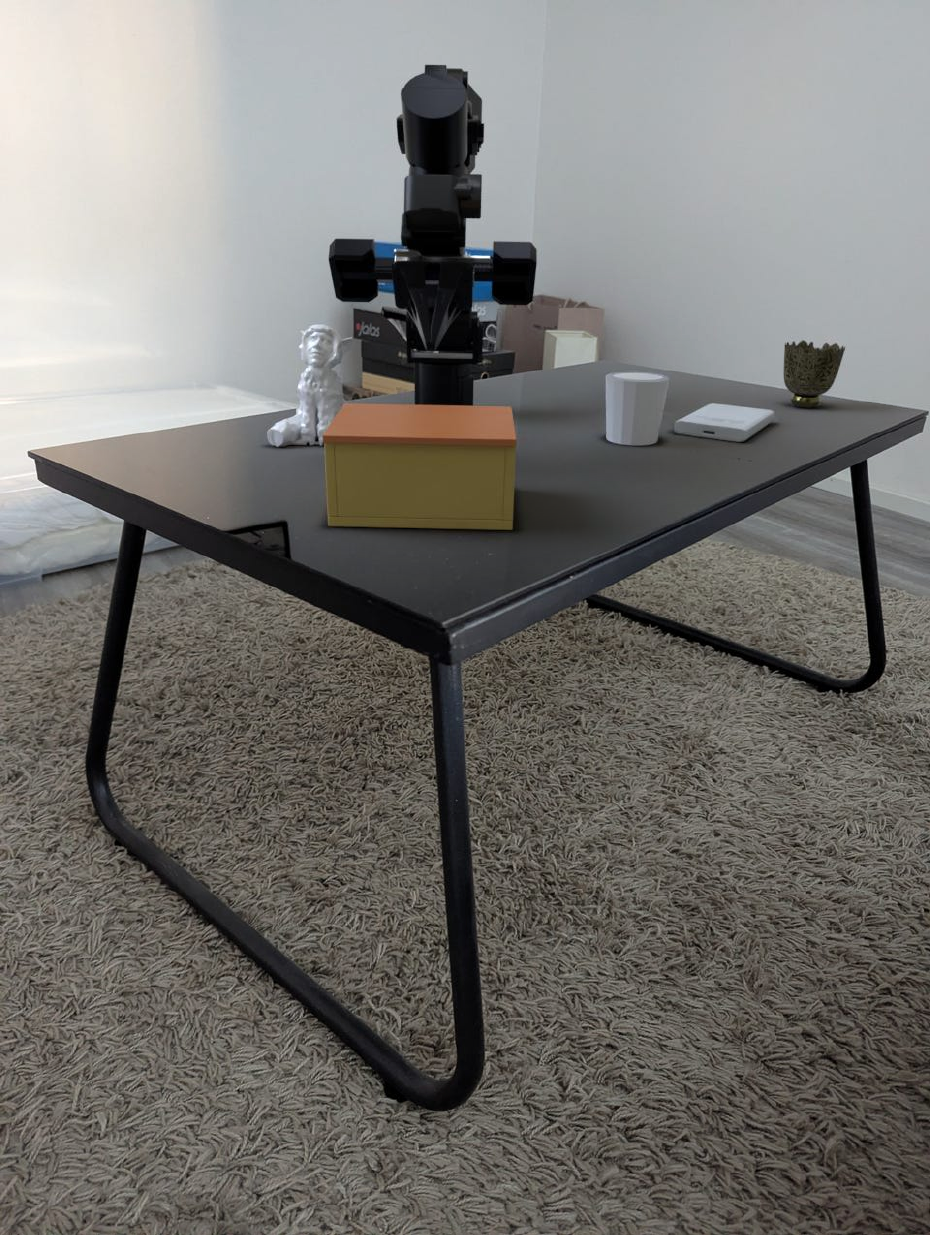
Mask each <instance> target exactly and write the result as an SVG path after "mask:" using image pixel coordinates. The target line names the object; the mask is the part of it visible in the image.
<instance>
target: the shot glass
mask: <svg viewBox="0 0 930 1235" xmlns="http://www.w3.org/2000/svg"><path fill="white" fill-rule="evenodd" d="M670 381H671V379H670V377H669V376H667V375H665V374H660V373H655V372H649V371H637V370H634V371H633V370H626V371H614V372H610V373H607V374H606V375H605V436H606V440H607V441H608V442H611V443H613V444H616V445H617V444H618V445H622V446H623V445H625V446H650V445H653V444H654V445H655V444H656V443H658V440H659V436H660V435H659V434H660V429H661V424H662V419H663V414H664V409H665V405H666V404H665V403H666V399H667V394H668V389H669V385H670Z"/></svg>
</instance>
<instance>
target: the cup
mask: <svg viewBox="0 0 930 1235" xmlns="http://www.w3.org/2000/svg"><path fill="white" fill-rule="evenodd" d="M845 351H846V346H844V345H841V347H840V346H839V345H838V343H837V342H835V343H833V344H831V345H830V344H829V342H825V343H824V344H823V345H822V347H815V346H814V342H813V341H810V342H809V343H807V341H806V340H804V339H803V340H800V341H799V342H798V344H796V342H795V341H794V340H793V341H792V342H791V344H790V342H788V341H787V342H784V350H783V382H784V385H785V387H786V389H787V390H788V391H789V392H790V393H792V395H791V397H790V403H791V404H792V405H793V406H795V407H796V408H804V409H806V408H807V409H813V408H816V407H818V406H819V404H820V402H821V397H820V396H822V395H824V394H826V393H827V392H828V391H830V389H831V388H832V387H833V385H834V383H835V381H836V378H837V376H838V373H839V369H840V367H841V363H842V360H843V356H844V353H845Z"/></svg>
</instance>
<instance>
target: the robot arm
mask: <svg viewBox="0 0 930 1235" xmlns="http://www.w3.org/2000/svg"><path fill="white" fill-rule="evenodd" d="M400 98H401V99H400V100H401V113H400V115H398V116H397V117H396V132H397V133H396V134H397V143H398V146H399V149H400V152H401V155H405V158H406V161H407V163H408V165H409V168H408V175H405V177H404V179H403V213H402V214H401V226H400V227H401V228H400V229H401V230H400V242H401V247H403V248H394V249H393V257H377V253H376V245H375V244H376V243H375V239H374V238H335V239H334V240H333V241H332V242H331V243H330V244H329V252H328V265H329V269H330V274H331V275H330V276H331V279H332V285H333V289H334V295H335V299H337V300H339V301H340V302H342V303H371V302H372V301H373V300H375V299H376V298H377V297H378V296H379V284H392V286H393V295H394V297H393V298H394V304H395V307H396V308H397V309H399V310H406V314H405V342H406V364H408V365H409V364H414V365H413V366H414V368H413V369H414V370H413V371H414V372H413V373H414V375H413V376H414V377H413V378H414V405H461V406H474V379H475V378H474V375H473V374H472V372H471V371H472V370H471V369H472V366H477V364H483V352H484V350H483V348H484V347H483V345H484V343H483V342H484V324H483V323H482V321H481V320H480V316H478V315H479V314H478V312H479V311H478V310H477V311H474V310H473V305H474V304H473V300H474V298H473V296H474V294H473V293H474V288H475V282H486V283H487V282H489V283H491V299H492V300H493V301H494V302H496V304H498V305H499V306H528V305H530V304H531V303H533V301H534V293H535V282H536V273H537V262H538V261H537V260H538V257H537V256H538V254H537V252H538V251H537V248H536V246H534V244H533V243H532V242H531V241H505V240H504V241H500V240H499V241H498V240H497V241H495V240H493V244H492V246H493V247H492V255H468V254H466V245H467V244H466V243H467V242H466V239H467V238H466V237H467V219H476V220H477V219H481V217H482V192H483V191H482V189H483V187H482V186H483V185H482V184H483V183H482V182H483V175H482V174H479V173H477V174H476V173H472V172H473V171H474V169H475V168H476V156H478V153H480V149H482V145H483V144H484V142H485V123H484V122H483V99H482V97H481V96H480V95H479V94H478V93H477V92H476V91H475V90H474V89H473V87H472V86H471V85H470V84H469V71H467V70H465V71H464V69H463V68H452V67H449V68H448V67H447V64H424V72H423V73H420V74H417V75H415V76H413V77H412V78H410V79H409V80H408V81H407V82H406V83H405V84H404V86H403V87H402V88H401V91H400ZM415 350H416V351H417V352H415ZM468 351H472V352H471V353H467V352H468ZM455 352H456V353H455Z"/></svg>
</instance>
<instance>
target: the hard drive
mask: <svg viewBox="0 0 930 1235" xmlns="http://www.w3.org/2000/svg"><path fill="white" fill-rule="evenodd" d="M774 419H775V411H773V410H772V409H768V408H767V409H766V408H758V407H751V406H740V405H734V404H725V403H716V402H712V403H708V404H706V405H704V406H703V407H701V408H699V409H696V410H694V411H693V412H691V413H689V414H687V415H685V416H684V417H682V418H680V419H678V420H676V421H674V426H673V432H674V433H676V434H678V435H686V436H691V437H692V436H693V437H700V438H706V439H707V438H708V439H714V440H720V441H721V440H723V441H727V442H728V441H729V442H730V441H731V442H737V443H741V442H744V441H746V440H748V439H749V438H750V437H752V436H754V435H755V434H756V433H758V432H759V431H761V430H762V429H764V428H765V427H767V426H768V425H770V424H772V423H773V422H774Z"/></svg>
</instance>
